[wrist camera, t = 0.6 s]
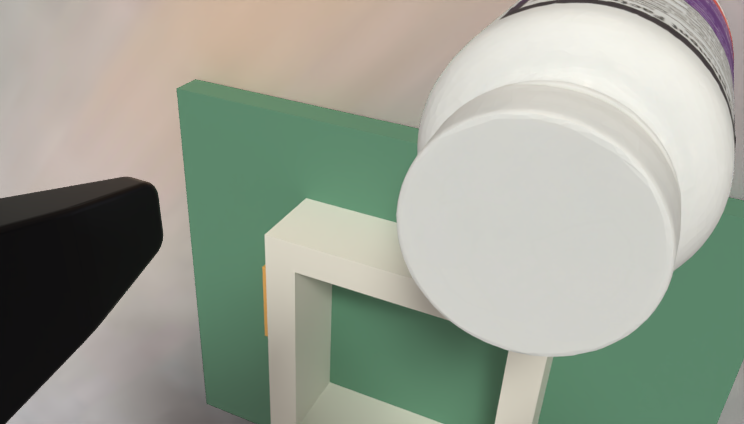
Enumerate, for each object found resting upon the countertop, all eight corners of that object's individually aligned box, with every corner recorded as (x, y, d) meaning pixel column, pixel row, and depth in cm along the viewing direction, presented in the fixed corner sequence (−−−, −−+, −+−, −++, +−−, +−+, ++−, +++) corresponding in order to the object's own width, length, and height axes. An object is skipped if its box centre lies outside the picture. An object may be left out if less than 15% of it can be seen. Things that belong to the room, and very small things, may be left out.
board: (794, 211, 18) (805, 286, 15) (653, 558, 25) (643, 652, 22) (195, 79, 24) (123, 114, 21) (220, 388, 31) (168, 445, 28)
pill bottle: (594, 194, 20) (502, 440, 12) (468, 45, 19) (287, 199, 11) (786, 75, 16) (832, 306, 9) (640, -107, 16) (550, -39, 8)
